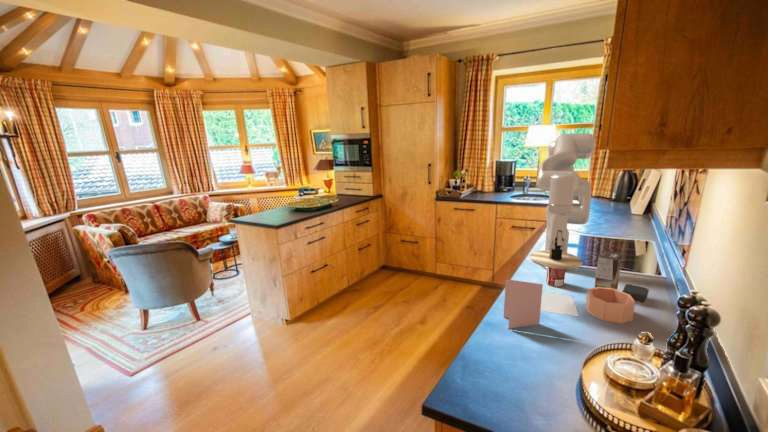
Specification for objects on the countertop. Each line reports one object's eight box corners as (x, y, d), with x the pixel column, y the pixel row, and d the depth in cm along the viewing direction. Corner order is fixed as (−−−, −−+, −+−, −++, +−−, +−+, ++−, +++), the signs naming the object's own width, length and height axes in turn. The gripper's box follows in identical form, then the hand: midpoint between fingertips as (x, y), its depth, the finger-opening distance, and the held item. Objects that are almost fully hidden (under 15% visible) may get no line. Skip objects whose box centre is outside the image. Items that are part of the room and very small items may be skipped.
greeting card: (539, 323, 112) (542, 283, 108) (539, 335, 105) (543, 292, 102) (503, 317, 116) (505, 278, 113) (501, 328, 110) (504, 287, 106)
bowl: (583, 302, 125) (585, 285, 123) (624, 307, 120) (626, 290, 119) (590, 319, 113) (592, 301, 112) (636, 326, 108) (639, 307, 107)
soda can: (566, 288, 136) (568, 261, 134) (548, 287, 138) (550, 261, 135) (560, 282, 143) (563, 256, 140) (544, 281, 144) (546, 255, 141)
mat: (527, 291, 135) (527, 290, 135) (571, 297, 129) (571, 295, 129) (528, 310, 121) (529, 309, 121) (578, 317, 115) (578, 316, 115)
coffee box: (612, 299, 127) (617, 260, 123) (593, 294, 131) (597, 256, 127) (617, 291, 133) (622, 253, 129) (599, 286, 137) (603, 250, 134)
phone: (648, 288, 134) (644, 301, 123) (647, 290, 134) (644, 303, 123) (625, 283, 139) (620, 296, 128) (625, 285, 139) (620, 298, 128)
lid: (529, 250, 132) (530, 236, 131) (577, 254, 126) (579, 240, 124) (530, 266, 117) (532, 250, 115) (586, 271, 110) (588, 255, 109)
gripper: (546, 203, 125) (542, 248, 130) (550, 213, 110) (546, 264, 115) (568, 204, 123) (563, 250, 127) (575, 214, 108) (570, 266, 112)
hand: (555, 256), depth 121 cm, fingers closed on lid, 4 cm apart
